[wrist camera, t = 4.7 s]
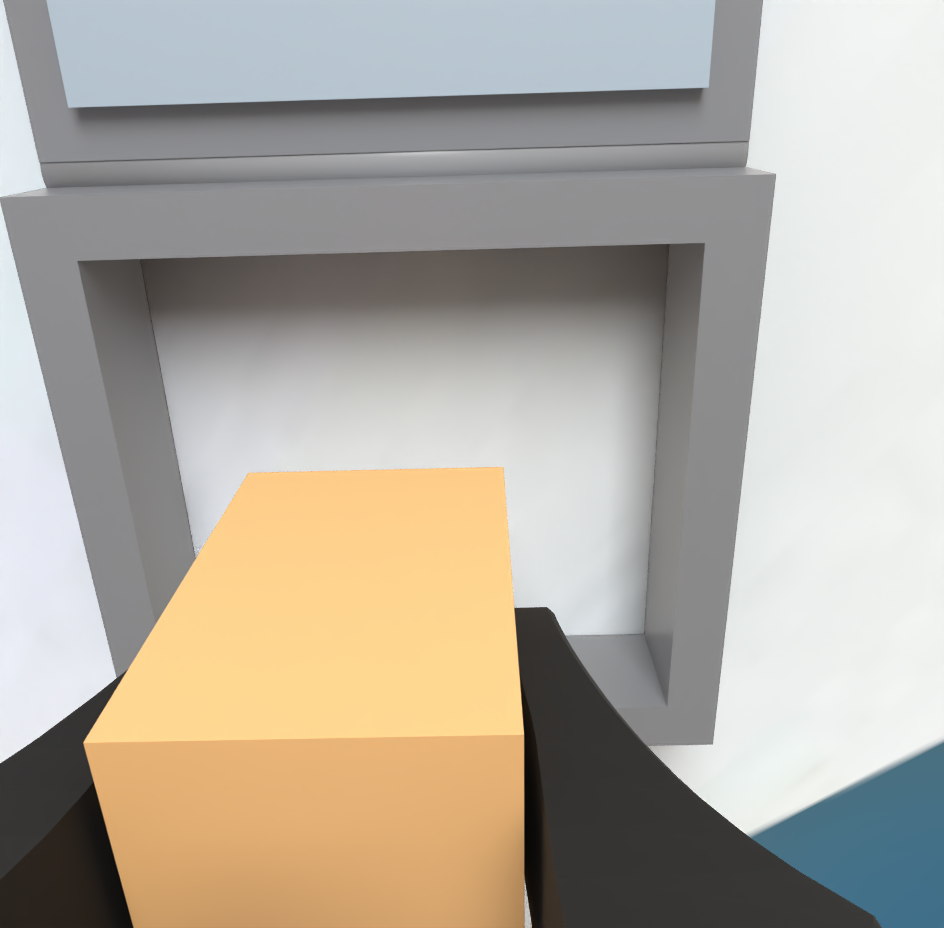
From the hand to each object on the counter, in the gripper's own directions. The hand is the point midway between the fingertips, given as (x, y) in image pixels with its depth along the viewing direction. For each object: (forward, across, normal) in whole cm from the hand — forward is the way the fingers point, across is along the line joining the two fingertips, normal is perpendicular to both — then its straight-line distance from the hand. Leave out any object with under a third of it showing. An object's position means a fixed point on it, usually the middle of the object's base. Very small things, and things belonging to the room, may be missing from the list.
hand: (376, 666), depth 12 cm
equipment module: (+2, 0, 0) cm, 2 cm away
